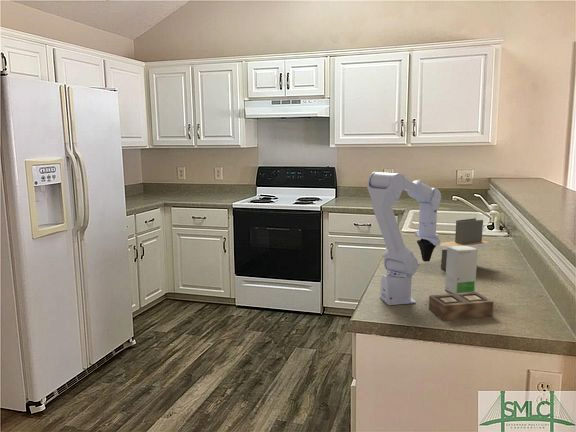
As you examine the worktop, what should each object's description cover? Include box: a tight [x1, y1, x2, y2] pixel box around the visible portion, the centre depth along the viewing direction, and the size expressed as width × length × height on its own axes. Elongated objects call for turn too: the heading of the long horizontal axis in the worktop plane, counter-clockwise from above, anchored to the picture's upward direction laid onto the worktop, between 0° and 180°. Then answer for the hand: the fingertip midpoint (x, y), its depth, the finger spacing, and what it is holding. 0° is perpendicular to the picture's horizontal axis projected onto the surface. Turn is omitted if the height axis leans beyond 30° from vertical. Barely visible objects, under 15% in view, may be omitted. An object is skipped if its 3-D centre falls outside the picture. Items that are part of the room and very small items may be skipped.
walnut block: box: [428, 291, 494, 321], centre depth 146 cm, size 16×9×5 cm, turn 101°
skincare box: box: [444, 246, 479, 294], centre depth 164 cm, size 8×7×16 cm
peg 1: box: [440, 297, 456, 302], centre depth 145 cm, size 4×4×4 cm
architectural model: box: [434, 217, 490, 270], centre depth 192 cm, size 38×25×20 cm, turn 115°
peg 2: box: [464, 295, 480, 300], centre depth 147 cm, size 4×4×4 cm
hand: (426, 260), depth 166 cm, fingers closed
